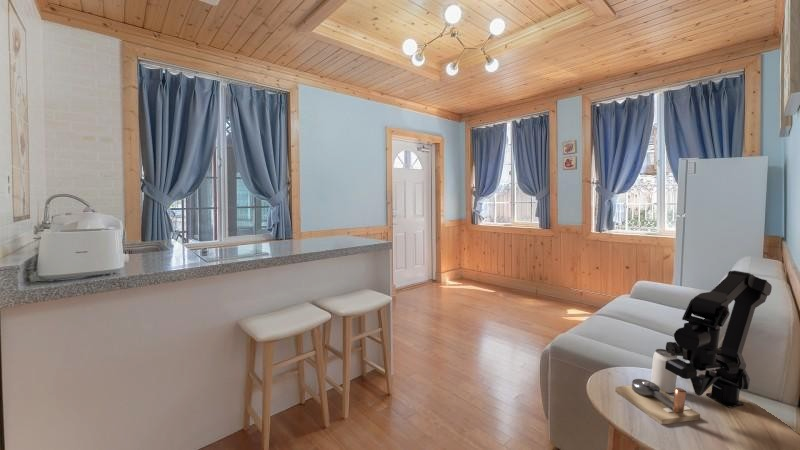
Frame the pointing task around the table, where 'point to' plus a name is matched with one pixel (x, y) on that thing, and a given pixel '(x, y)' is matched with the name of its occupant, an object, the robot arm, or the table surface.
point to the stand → (657, 406)
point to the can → (663, 371)
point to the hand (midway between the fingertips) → (698, 394)
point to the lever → (653, 391)
